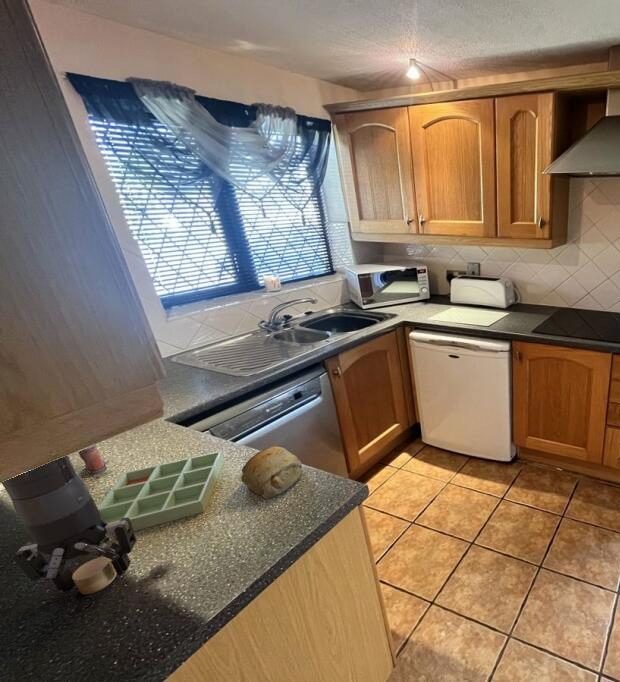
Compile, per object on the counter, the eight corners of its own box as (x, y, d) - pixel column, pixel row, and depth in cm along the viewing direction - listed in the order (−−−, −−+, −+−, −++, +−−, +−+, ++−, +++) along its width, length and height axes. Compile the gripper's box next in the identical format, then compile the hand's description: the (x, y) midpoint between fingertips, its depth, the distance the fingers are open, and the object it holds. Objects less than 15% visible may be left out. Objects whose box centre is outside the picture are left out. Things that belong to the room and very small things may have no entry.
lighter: (84, 465, 100) (67, 432, 96) (102, 458, 102) (86, 426, 99) (90, 477, 95) (74, 443, 92) (109, 469, 98) (93, 436, 94)
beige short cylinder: (74, 598, 66) (65, 584, 65) (88, 576, 70) (80, 562, 68) (109, 588, 68) (101, 573, 66) (121, 566, 71) (114, 553, 70)
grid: (84, 544, 76) (77, 533, 75) (128, 482, 93) (123, 472, 92) (204, 511, 84) (200, 501, 83) (225, 459, 101) (221, 450, 100)
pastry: (256, 466, 98) (248, 440, 95) (309, 458, 101) (302, 432, 98) (233, 506, 85) (223, 477, 82) (294, 495, 88) (287, 467, 85)
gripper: (124, 478, 69) (156, 548, 74) (11, 505, 63) (55, 577, 69) (103, 507, 62) (140, 580, 68) (-25, 539, 57) (27, 616, 62)
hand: (97, 578), depth 68 cm, fingers open, 6 cm apart
